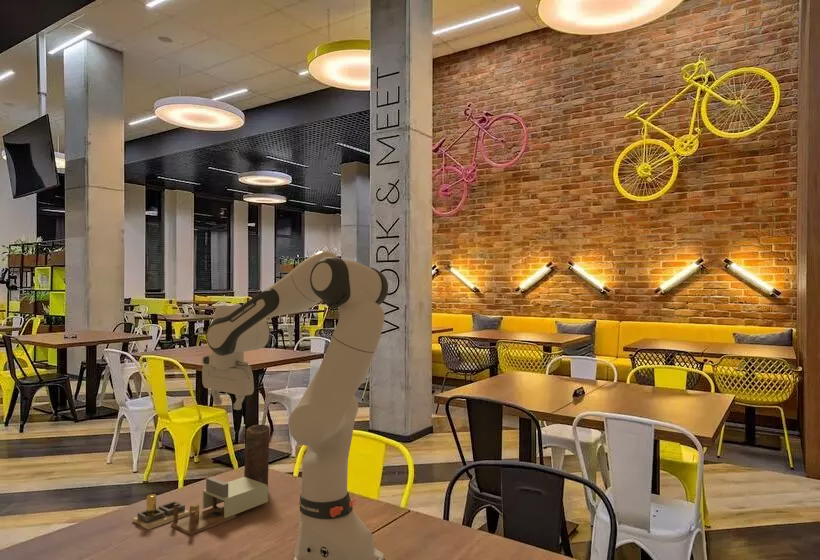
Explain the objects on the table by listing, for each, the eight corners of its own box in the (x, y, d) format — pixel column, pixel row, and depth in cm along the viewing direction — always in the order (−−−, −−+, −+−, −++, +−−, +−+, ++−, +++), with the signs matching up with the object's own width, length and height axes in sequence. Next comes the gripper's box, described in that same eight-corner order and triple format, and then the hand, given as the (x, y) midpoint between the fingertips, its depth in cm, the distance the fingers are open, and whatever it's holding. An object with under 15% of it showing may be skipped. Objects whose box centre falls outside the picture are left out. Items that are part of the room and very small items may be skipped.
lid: (268, 501, 166) (268, 472, 166) (225, 518, 155) (225, 486, 155) (245, 493, 173) (245, 464, 173) (202, 508, 161) (202, 477, 161)
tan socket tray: (189, 514, 160) (189, 505, 160) (148, 529, 150) (148, 520, 150) (173, 507, 165) (173, 499, 165) (132, 521, 155) (132, 512, 155)
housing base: (235, 517, 158) (236, 497, 158) (190, 535, 147) (190, 513, 147) (216, 509, 164) (216, 489, 164) (171, 525, 153) (171, 504, 153)
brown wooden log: (273, 488, 181) (273, 425, 181) (260, 496, 174) (261, 431, 174) (252, 485, 183) (253, 423, 183) (238, 493, 176) (239, 429, 176)
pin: (157, 517, 155) (158, 495, 155) (149, 520, 153) (149, 498, 153) (152, 515, 157) (153, 493, 157) (144, 518, 155) (144, 496, 155)
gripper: (259, 361, 162) (259, 410, 162) (216, 355, 174) (216, 400, 174) (241, 364, 157) (240, 414, 157) (198, 357, 169) (197, 403, 169)
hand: (227, 406), depth 166 cm, fingers open, 8 cm apart
